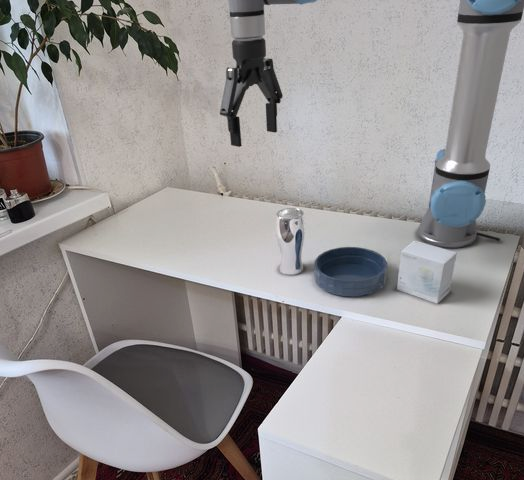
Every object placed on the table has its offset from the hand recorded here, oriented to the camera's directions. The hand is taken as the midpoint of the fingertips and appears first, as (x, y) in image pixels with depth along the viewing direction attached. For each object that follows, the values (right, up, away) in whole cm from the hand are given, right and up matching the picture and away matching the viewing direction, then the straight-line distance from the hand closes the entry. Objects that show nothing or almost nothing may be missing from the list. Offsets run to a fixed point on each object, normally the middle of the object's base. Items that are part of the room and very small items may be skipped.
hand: (254, 138), depth 125 cm
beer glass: (+9, -32, +5) cm, 33 cm away
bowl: (+23, -35, -1) cm, 42 cm away
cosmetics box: (+39, -39, -7) cm, 56 cm away
